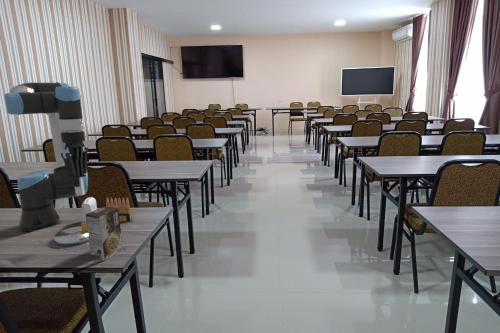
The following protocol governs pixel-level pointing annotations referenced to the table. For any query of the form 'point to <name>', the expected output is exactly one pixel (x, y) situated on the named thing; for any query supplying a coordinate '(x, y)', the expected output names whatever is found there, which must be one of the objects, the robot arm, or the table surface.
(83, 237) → the dial
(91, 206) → the photo printer
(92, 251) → the coffee box
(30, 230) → the robot arm
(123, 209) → the ammunition clip
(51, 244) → the panel
